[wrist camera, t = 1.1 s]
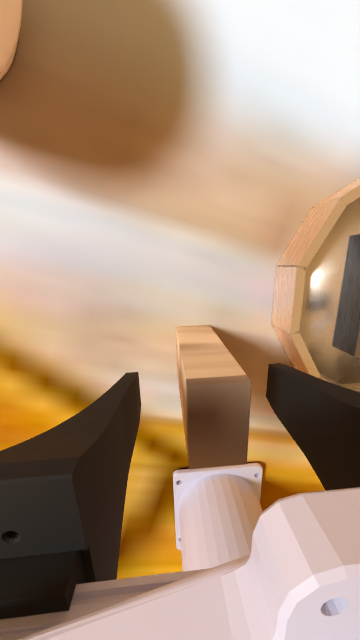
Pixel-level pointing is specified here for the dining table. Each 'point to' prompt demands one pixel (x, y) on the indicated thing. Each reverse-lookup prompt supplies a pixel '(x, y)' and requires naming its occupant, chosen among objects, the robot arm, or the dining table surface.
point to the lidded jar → (9, 32)
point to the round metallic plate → (323, 291)
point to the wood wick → (212, 399)
